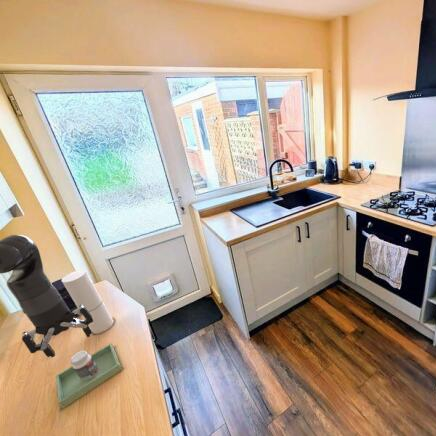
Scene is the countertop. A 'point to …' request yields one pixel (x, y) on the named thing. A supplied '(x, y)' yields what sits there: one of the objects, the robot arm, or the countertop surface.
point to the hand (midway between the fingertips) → (71, 345)
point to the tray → (75, 388)
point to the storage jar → (65, 295)
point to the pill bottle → (84, 365)
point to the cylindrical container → (88, 299)
